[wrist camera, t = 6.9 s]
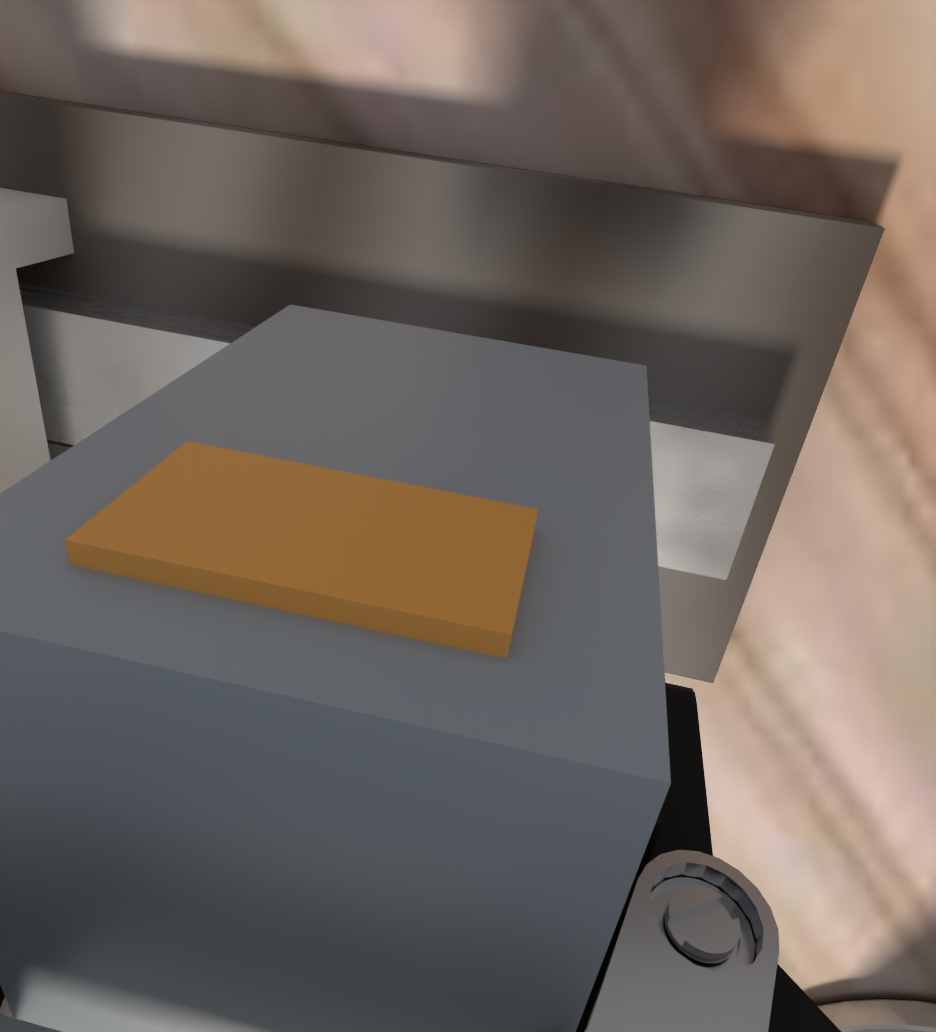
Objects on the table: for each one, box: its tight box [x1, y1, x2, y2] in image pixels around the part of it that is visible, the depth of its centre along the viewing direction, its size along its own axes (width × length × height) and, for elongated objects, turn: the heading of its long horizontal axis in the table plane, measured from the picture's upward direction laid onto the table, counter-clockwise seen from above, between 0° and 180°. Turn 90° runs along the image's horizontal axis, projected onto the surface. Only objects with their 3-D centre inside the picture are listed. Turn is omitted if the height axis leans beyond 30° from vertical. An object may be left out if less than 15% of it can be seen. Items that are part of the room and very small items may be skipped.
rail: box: [18, 283, 775, 580], centre depth 18 cm, size 23×4×2 cm, turn 83°
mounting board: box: [0, 91, 885, 683], centre depth 20 cm, size 25×12×1 cm, turn 83°
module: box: [0, 305, 671, 1032], centre depth 9 cm, size 5×8×7 cm, turn 173°
